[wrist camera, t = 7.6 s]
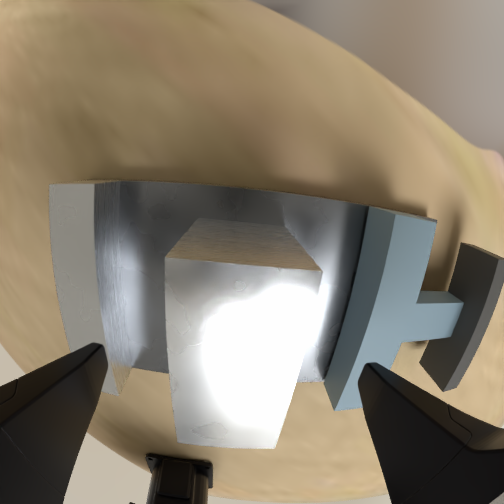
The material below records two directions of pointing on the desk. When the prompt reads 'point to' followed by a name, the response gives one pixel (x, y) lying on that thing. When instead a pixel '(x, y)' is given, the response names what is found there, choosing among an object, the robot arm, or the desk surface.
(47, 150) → the desk surface
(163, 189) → the vise base
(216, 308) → the steel block
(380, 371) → the robot arm
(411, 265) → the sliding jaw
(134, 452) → the desk surface
